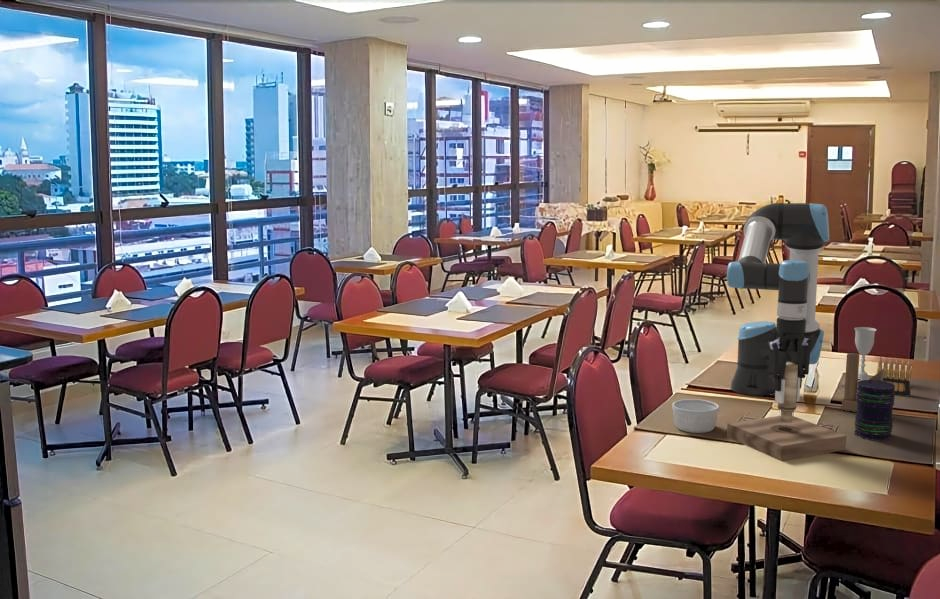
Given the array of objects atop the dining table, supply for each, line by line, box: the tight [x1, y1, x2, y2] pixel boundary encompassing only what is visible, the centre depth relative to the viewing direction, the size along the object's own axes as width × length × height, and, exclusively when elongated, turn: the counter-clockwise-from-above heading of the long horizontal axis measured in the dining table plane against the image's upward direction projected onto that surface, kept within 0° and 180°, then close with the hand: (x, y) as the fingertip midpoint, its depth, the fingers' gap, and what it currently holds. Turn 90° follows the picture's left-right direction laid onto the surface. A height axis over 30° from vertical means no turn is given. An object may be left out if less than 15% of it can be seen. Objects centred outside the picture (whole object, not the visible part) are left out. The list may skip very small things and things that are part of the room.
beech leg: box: [777, 363, 798, 423], centre depth 248 cm, size 5×5×16 cm
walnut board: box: [726, 415, 847, 462], centre depth 250 cm, size 22×22×4 cm
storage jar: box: [854, 380, 896, 441], centre depth 256 cm, size 10×10×15 cm
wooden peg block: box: [841, 352, 884, 413], centre depth 278 cm, size 4×11×18 cm, turn 53°
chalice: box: [853, 326, 877, 381], centre depth 320 cm, size 7×7×18 cm
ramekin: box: [671, 398, 720, 434], centre depth 264 cm, size 13×13×7 cm
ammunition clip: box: [876, 356, 912, 396], centre depth 301 cm, size 11×2×12 cm, turn 56°
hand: (787, 401), depth 248 cm, fingers closed on beech leg, 4 cm apart
